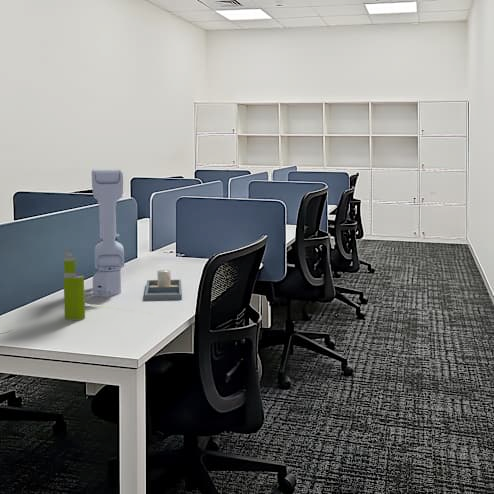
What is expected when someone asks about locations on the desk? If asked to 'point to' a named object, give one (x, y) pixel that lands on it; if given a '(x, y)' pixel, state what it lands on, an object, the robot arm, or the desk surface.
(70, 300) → the vape
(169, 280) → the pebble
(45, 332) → the desk surface
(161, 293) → the tray
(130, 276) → the desk surface
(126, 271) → the desk surface
